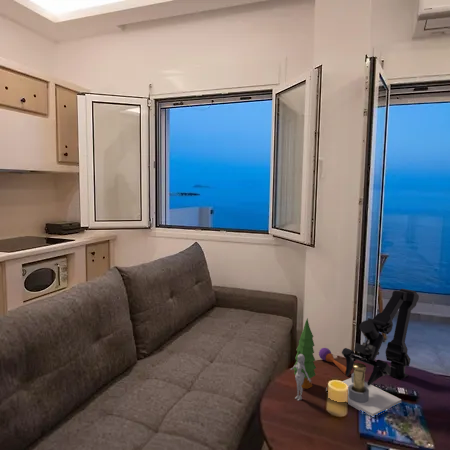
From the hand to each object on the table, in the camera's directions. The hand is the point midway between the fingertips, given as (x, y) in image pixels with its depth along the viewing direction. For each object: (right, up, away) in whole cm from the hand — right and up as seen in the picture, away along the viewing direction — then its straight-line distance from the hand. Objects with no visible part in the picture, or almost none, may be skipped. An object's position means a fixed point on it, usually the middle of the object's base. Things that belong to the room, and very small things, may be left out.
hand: (357, 380), depth 144 cm
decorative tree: (-18, -8, +14) cm, 24 cm away
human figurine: (-22, -9, +4) cm, 24 cm away
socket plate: (+4, -9, +5) cm, 11 cm away
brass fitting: (+1, -7, +1) cm, 8 cm away
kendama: (0, -7, +32) cm, 33 cm away
